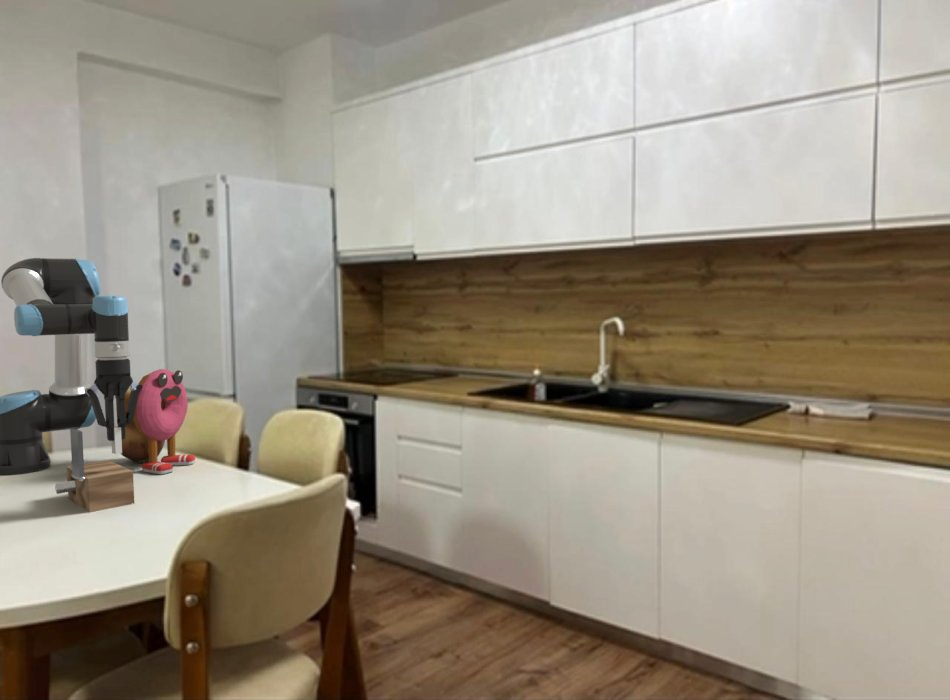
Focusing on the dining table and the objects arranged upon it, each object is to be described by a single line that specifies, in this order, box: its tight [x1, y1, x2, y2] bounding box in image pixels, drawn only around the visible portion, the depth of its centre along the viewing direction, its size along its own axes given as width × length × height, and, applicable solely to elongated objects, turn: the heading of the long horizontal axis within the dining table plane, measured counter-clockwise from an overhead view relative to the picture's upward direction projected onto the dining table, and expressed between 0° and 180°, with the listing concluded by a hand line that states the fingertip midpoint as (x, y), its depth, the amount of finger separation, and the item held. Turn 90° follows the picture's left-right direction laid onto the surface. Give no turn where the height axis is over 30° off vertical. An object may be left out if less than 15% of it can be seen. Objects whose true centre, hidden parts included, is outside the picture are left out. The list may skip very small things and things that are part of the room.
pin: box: [54, 480, 76, 495], centre depth 173 cm, size 15×5×5 cm, turn 135°
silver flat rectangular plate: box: [69, 429, 86, 482], centre depth 163 cm, size 7×1×12 cm, turn 45°
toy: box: [133, 368, 196, 475], centre depth 204 cm, size 21×10×30 cm, turn 168°
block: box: [66, 460, 135, 513], centre depth 171 cm, size 18×10×8 cm, turn 45°
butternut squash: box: [120, 386, 166, 464], centre depth 213 cm, size 14×13×25 cm
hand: (117, 452), depth 169 cm, fingers closed
